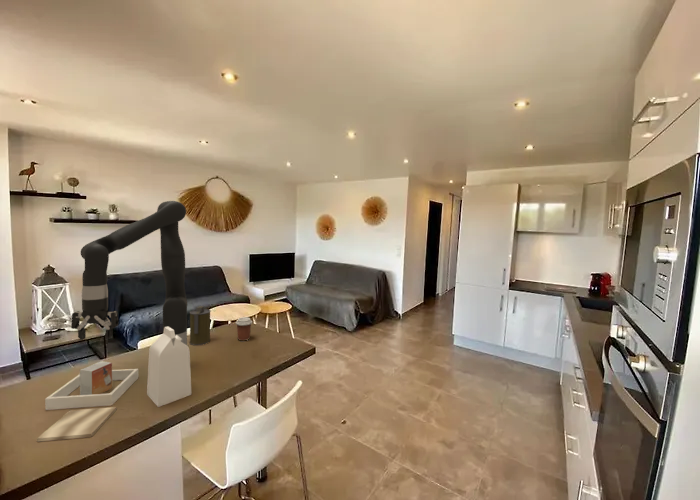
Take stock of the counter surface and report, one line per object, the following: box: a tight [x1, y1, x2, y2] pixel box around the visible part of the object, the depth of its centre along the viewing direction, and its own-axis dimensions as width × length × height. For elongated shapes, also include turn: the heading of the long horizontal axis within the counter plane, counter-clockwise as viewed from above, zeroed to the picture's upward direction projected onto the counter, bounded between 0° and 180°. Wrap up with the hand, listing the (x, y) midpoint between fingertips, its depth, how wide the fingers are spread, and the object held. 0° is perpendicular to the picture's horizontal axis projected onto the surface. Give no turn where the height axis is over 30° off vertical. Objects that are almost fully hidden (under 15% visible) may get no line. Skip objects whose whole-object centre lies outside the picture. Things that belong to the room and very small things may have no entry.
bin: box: [44, 368, 139, 411], centre depth 116 cm, size 20×20×4 cm
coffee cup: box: [235, 316, 253, 341], centre depth 175 cm, size 9×9×12 cm
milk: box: [146, 327, 192, 408], centre depth 116 cm, size 12×12×26 cm
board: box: [36, 406, 118, 443], centre depth 98 cm, size 14×14×1 cm
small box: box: [79, 360, 113, 395], centre depth 116 cm, size 8×6×10 cm
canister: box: [189, 305, 211, 346], centre depth 168 cm, size 11×10×20 cm
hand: (95, 338), depth 114 cm, fingers open, 8 cm apart
